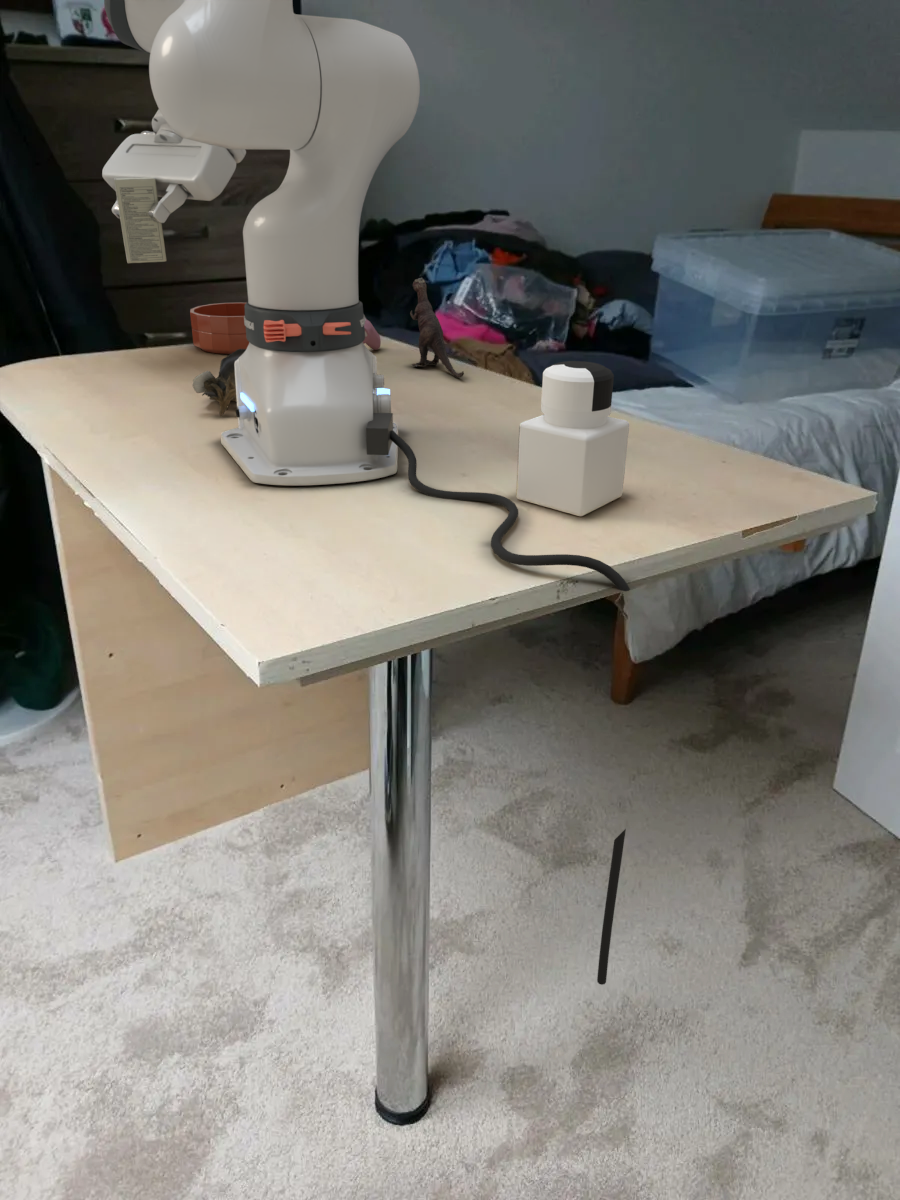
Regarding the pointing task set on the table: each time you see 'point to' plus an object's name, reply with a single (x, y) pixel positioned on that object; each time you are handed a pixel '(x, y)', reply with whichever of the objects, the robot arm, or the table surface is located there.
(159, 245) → the printed carton
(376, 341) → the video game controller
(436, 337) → the dinosaur model
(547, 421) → the medicine bottle
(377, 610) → the table surface
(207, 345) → the bowl
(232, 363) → the eagle figurine
